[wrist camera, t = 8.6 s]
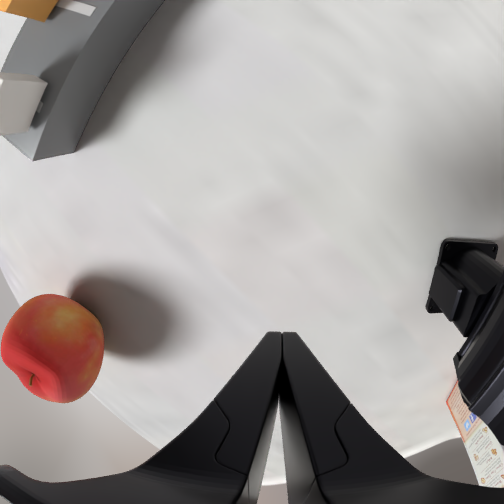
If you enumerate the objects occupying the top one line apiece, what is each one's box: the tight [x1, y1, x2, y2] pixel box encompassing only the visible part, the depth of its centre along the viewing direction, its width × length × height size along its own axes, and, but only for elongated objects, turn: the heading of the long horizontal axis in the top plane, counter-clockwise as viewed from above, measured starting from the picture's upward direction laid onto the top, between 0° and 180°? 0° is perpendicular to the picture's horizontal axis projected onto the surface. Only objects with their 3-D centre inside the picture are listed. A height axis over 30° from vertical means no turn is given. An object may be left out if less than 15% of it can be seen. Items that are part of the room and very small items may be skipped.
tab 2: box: [0, 72, 48, 136], centre depth 11 cm, size 2×4×4 cm, turn 145°
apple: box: [1, 294, 104, 403], centre depth 21 cm, size 10×10×10 cm
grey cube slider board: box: [1, 0, 164, 161], centre depth 13 cm, size 8×21×5 cm, turn 145°
